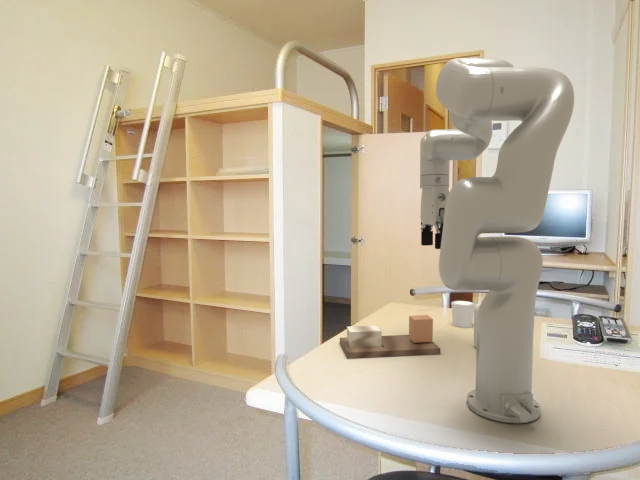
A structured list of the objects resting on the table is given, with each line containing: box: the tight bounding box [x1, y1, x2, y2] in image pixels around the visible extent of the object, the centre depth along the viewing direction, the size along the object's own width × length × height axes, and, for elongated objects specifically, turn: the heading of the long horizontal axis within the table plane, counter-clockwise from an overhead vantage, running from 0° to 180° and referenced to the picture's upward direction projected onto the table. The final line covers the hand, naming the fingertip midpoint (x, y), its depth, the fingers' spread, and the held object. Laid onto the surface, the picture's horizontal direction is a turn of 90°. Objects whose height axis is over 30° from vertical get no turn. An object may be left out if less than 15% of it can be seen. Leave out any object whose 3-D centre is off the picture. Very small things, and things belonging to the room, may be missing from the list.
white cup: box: [450, 300, 476, 329], centre depth 136 cm, size 7×7×7 cm
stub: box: [408, 314, 434, 343], centre depth 115 cm, size 5×4×6 cm
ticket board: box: [339, 324, 441, 360], centre depth 115 cm, size 24×12×6 cm, turn 96°
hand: (433, 246), depth 118 cm, fingers open, 9 cm apart
